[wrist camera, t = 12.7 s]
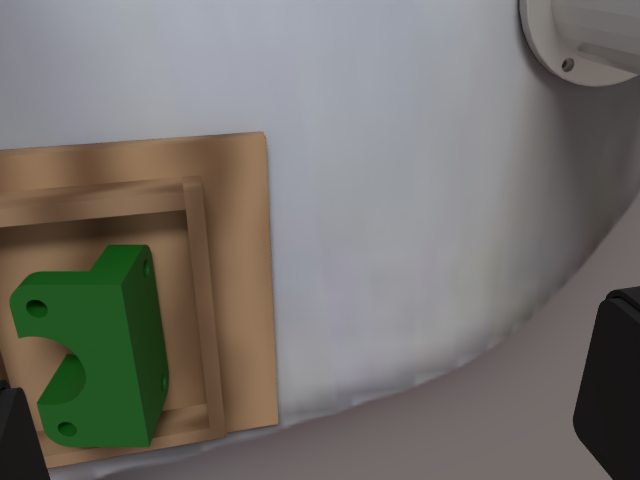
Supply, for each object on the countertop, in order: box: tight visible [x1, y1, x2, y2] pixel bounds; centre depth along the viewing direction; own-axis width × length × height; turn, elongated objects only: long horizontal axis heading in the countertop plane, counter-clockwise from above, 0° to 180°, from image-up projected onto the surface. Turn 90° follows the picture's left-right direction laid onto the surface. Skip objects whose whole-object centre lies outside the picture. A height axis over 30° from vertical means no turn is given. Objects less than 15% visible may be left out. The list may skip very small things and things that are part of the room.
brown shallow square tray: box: [0, 132, 278, 468], centre depth 38 cm, size 22×22×4 cm
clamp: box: [9, 245, 169, 447], centre depth 36 cm, size 12×6×9 cm, turn 174°
